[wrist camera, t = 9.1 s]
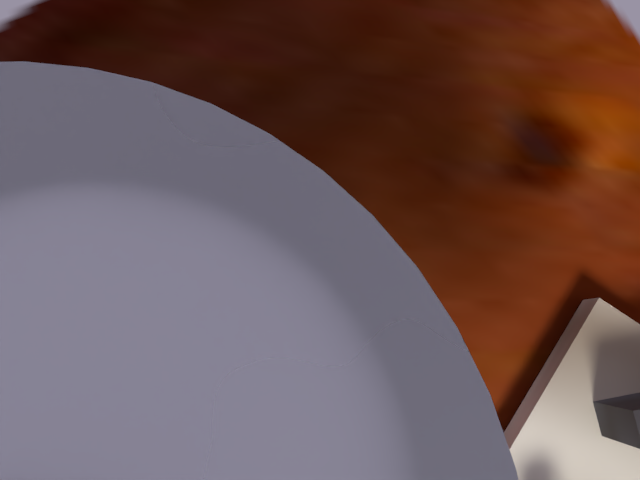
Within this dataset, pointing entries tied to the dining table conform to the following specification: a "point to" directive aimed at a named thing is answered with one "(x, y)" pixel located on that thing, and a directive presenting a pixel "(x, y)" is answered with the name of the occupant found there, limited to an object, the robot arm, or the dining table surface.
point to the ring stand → (583, 403)
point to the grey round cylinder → (210, 304)
